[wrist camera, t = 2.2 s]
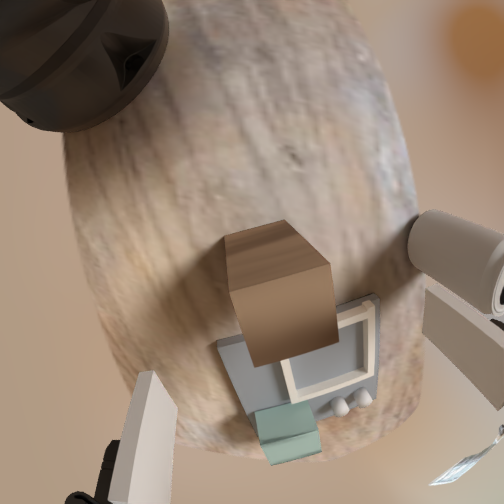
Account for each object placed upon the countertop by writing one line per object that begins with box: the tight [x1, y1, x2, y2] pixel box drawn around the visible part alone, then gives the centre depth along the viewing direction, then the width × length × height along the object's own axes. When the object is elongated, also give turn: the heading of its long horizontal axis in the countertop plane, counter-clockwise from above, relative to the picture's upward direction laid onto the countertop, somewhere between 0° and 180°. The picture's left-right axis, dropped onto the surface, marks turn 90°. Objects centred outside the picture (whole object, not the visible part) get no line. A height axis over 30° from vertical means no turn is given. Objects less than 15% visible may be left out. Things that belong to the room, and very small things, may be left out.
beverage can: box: [408, 210, 504, 317], centre depth 19 cm, size 6×6×12 cm
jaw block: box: [224, 220, 339, 368], centre depth 19 cm, size 5×5×10 cm
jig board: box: [217, 293, 380, 437], centre depth 27 cm, size 16×16×3 cm
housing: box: [255, 400, 322, 465], centre depth 26 cm, size 6×6×5 cm
